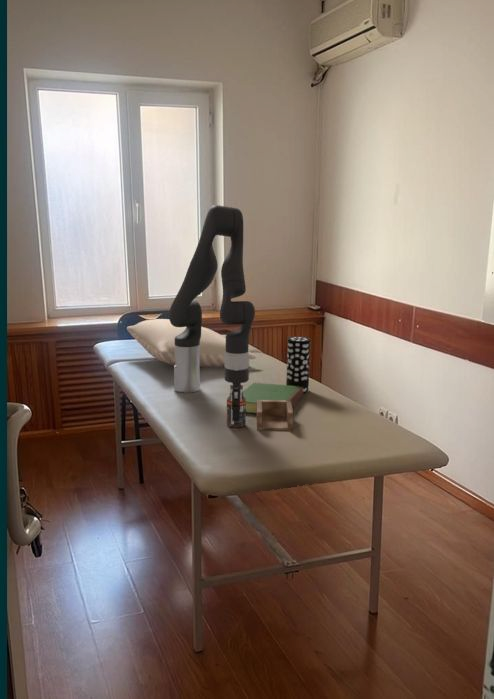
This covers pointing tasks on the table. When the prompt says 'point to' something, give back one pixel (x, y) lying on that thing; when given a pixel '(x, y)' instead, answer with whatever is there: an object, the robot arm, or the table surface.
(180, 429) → the table surface
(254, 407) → the hardcover book
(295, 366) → the white-spotted black cylinder
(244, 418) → the supplement bottle
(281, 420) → the open-sided wooden box
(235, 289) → the robot arm
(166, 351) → the pillow
